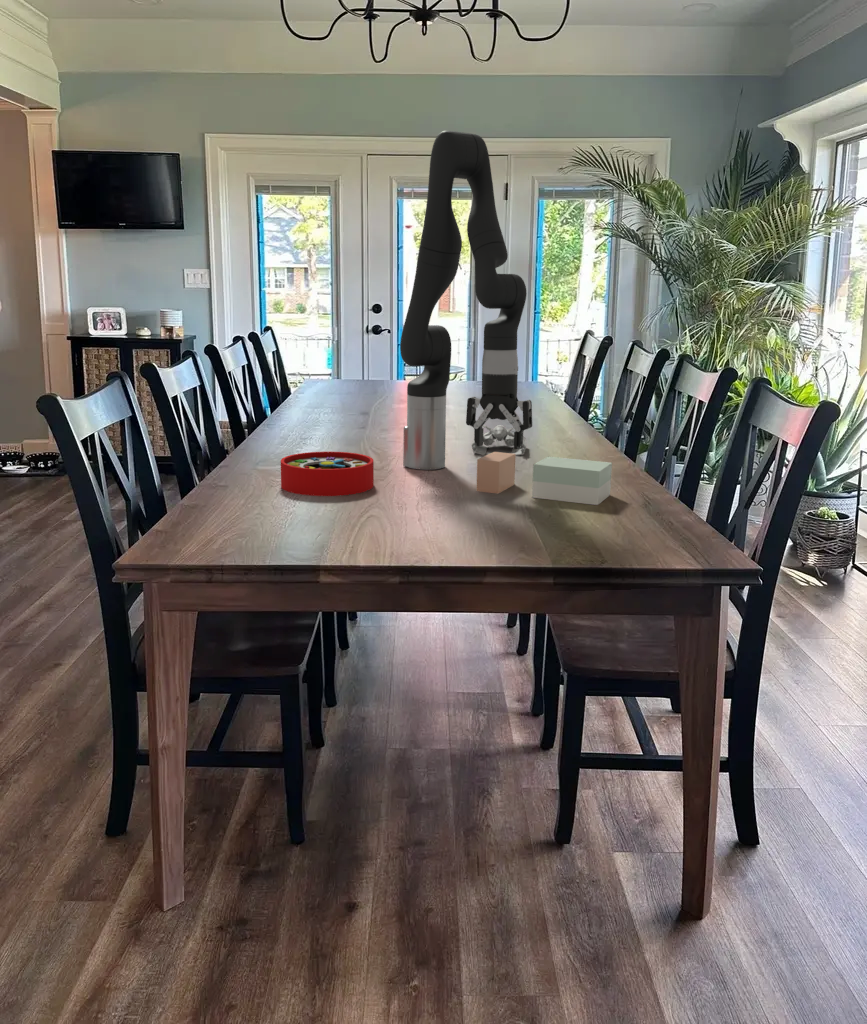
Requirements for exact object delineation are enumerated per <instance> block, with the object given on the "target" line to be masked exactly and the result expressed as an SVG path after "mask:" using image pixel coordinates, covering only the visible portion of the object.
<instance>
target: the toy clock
mask: <svg viewBox="0 0 867 1024" xmlns="http://www.w3.org/2000/svg"><path fill="white" fill-rule="evenodd" d="M374 471H375V470H374V458H373V457H371V456H369V455H365V454H361V453H356V452H349V451H347V452H346V451H309V452H302V453H301V452H299V453H294V454H291V455H287V456H285V457H282V458H281V459H280V487H281V489H282V490H284V491H286V492H288V493H292V494H296V495H303V496H311V497H312V496H314V497H339V496H340V495H341V496H349V494H350V495H357V494H360V493H364V492H367V490H368V491H370V490H371V489H373V488H374V485H375V484H374V483H375V482H374V480H375V479H374V477H375V476H374V475H375V473H374ZM356 493H357V494H356Z"/></svg>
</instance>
